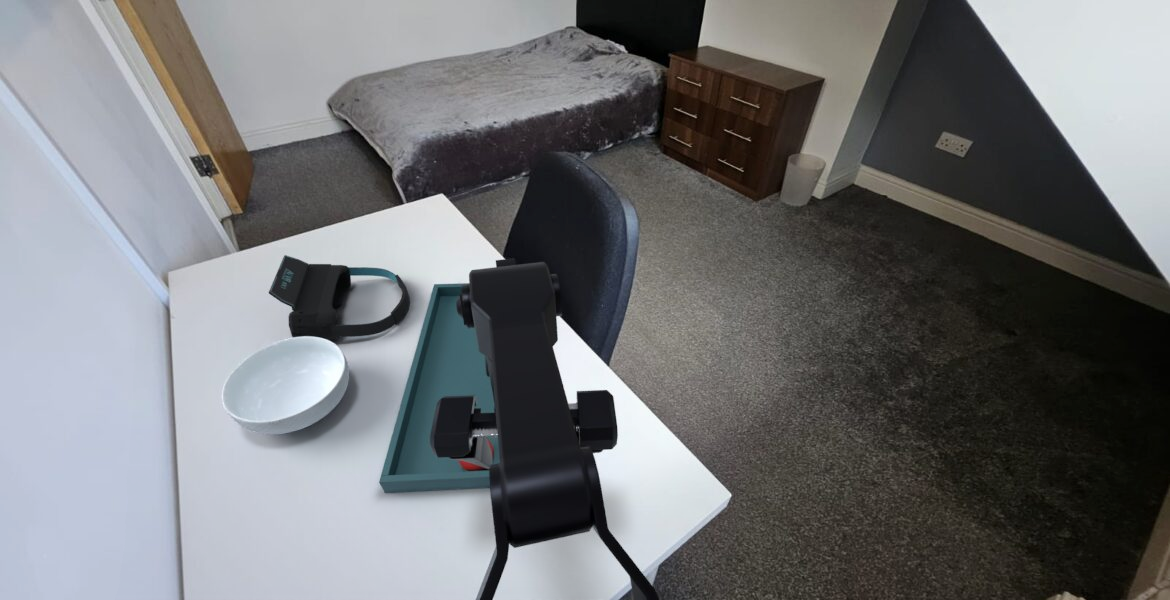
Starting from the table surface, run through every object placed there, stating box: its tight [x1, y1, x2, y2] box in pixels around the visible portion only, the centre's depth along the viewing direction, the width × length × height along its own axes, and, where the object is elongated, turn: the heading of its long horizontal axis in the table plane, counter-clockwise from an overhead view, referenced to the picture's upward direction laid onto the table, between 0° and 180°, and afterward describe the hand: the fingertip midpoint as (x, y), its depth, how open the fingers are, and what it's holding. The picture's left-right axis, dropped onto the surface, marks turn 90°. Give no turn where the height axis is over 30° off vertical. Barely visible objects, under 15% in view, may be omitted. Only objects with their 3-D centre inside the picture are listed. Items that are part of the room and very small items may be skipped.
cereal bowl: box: [221, 336, 350, 435], centre depth 74 cm, size 17×17×7 cm
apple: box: [458, 439, 494, 471], centre depth 66 cm, size 5×5×6 cm
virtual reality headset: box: [268, 254, 411, 340], centre depth 90 cm, size 19×22×10 cm
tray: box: [378, 282, 500, 494], centre depth 80 cm, size 42×16×3 cm, turn 4°
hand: (530, 463), depth 55 cm, fingers open, 9 cm apart
